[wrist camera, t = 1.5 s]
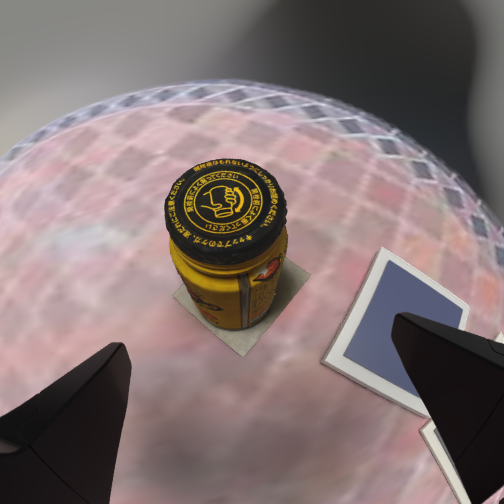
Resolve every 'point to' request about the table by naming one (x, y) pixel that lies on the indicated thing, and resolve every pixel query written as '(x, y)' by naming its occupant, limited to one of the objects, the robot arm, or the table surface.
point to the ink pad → (389, 327)
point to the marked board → (447, 453)
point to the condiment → (231, 249)
